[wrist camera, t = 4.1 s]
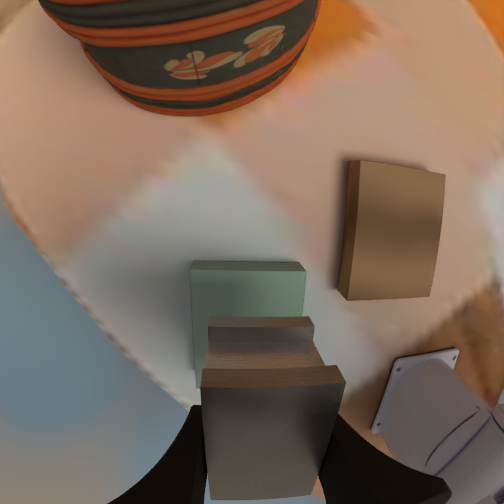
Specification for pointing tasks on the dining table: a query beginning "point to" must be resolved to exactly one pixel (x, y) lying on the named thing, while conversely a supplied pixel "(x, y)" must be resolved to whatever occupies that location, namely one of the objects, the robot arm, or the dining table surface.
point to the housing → (266, 407)
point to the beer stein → (189, 48)
